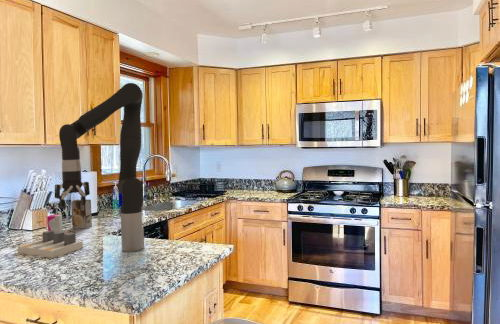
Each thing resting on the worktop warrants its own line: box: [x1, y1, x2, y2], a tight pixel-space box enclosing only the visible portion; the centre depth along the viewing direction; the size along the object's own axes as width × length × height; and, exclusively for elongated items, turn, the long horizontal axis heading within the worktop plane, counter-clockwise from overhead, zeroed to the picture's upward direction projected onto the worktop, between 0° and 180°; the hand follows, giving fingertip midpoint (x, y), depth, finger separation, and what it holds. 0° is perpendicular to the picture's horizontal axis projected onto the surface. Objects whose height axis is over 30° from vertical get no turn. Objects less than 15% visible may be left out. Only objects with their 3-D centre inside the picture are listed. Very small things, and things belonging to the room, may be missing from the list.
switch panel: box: [17, 238, 84, 259], centre depth 167 cm, size 16×22×3 cm
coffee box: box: [70, 199, 93, 229], centre depth 213 cm, size 9×6×16 cm
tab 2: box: [53, 231, 65, 244], centre depth 171 cm, size 4×3×5 cm
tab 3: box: [64, 232, 77, 246], centre depth 168 cm, size 4×3×5 cm
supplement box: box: [46, 213, 64, 233], centre depth 192 cm, size 6×6×12 cm
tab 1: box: [42, 230, 54, 243], centre depth 174 cm, size 4×3×5 cm
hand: (73, 206), depth 161 cm, fingers open, 8 cm apart
